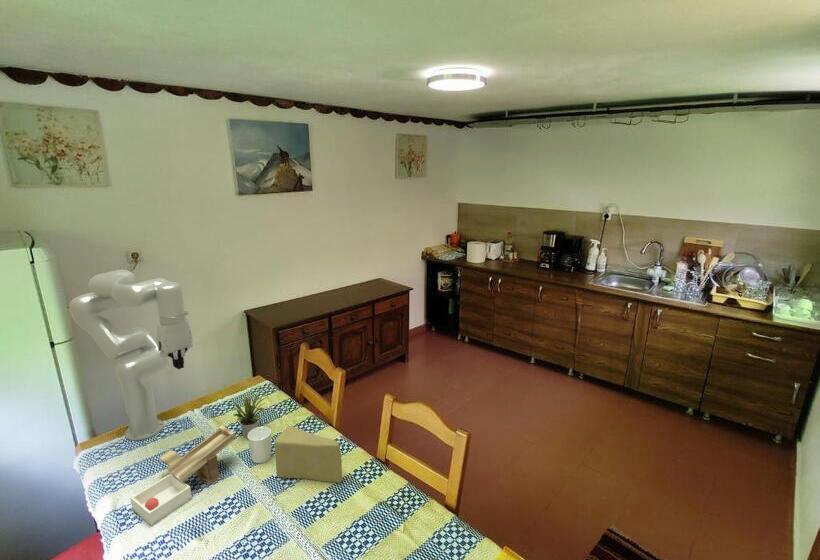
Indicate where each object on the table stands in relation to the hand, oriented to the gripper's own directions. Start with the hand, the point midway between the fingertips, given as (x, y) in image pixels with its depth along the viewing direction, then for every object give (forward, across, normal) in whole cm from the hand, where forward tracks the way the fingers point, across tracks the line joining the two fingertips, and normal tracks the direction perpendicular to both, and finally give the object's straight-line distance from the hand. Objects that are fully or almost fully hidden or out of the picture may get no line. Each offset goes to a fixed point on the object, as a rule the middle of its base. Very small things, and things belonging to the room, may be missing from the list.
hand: (179, 367), depth 142 cm
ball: (+31, +22, +18) cm, 42 cm away
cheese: (+33, -15, +48) cm, 60 cm away
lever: (+26, +5, +14) cm, 30 cm away
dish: (+33, +20, +18) cm, 42 cm away
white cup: (+33, -11, +26) cm, 44 cm away
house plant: (+33, -18, +13) cm, 40 cm away
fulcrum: (+33, +5, +18) cm, 38 cm away
